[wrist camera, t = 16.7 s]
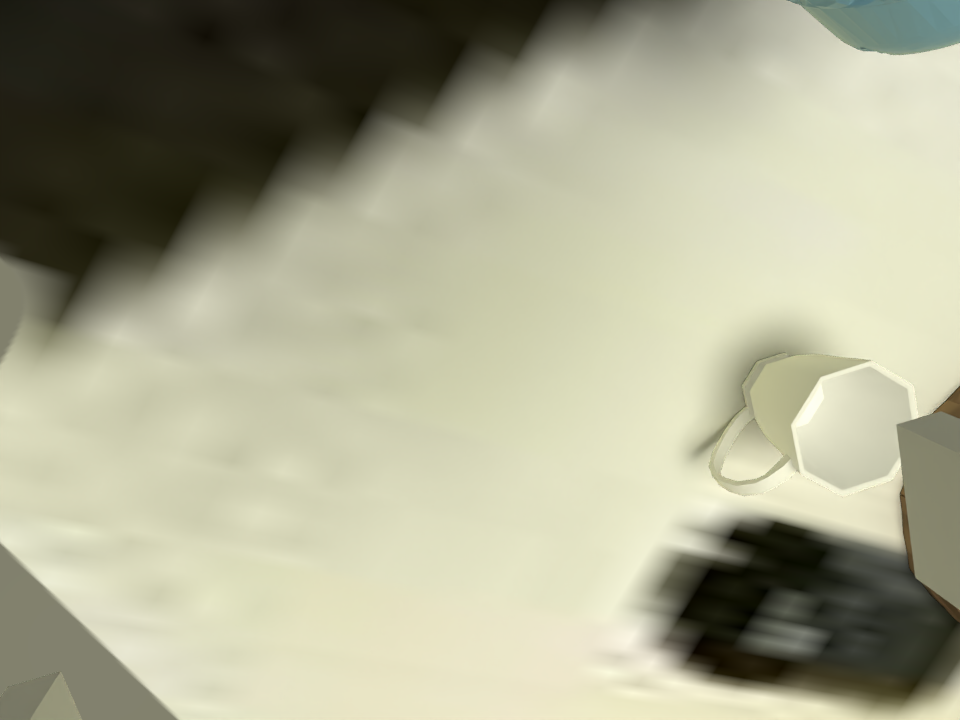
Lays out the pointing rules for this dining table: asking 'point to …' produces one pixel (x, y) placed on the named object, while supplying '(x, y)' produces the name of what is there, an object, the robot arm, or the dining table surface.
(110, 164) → the dining table surface
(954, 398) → the round tray
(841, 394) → the cup
